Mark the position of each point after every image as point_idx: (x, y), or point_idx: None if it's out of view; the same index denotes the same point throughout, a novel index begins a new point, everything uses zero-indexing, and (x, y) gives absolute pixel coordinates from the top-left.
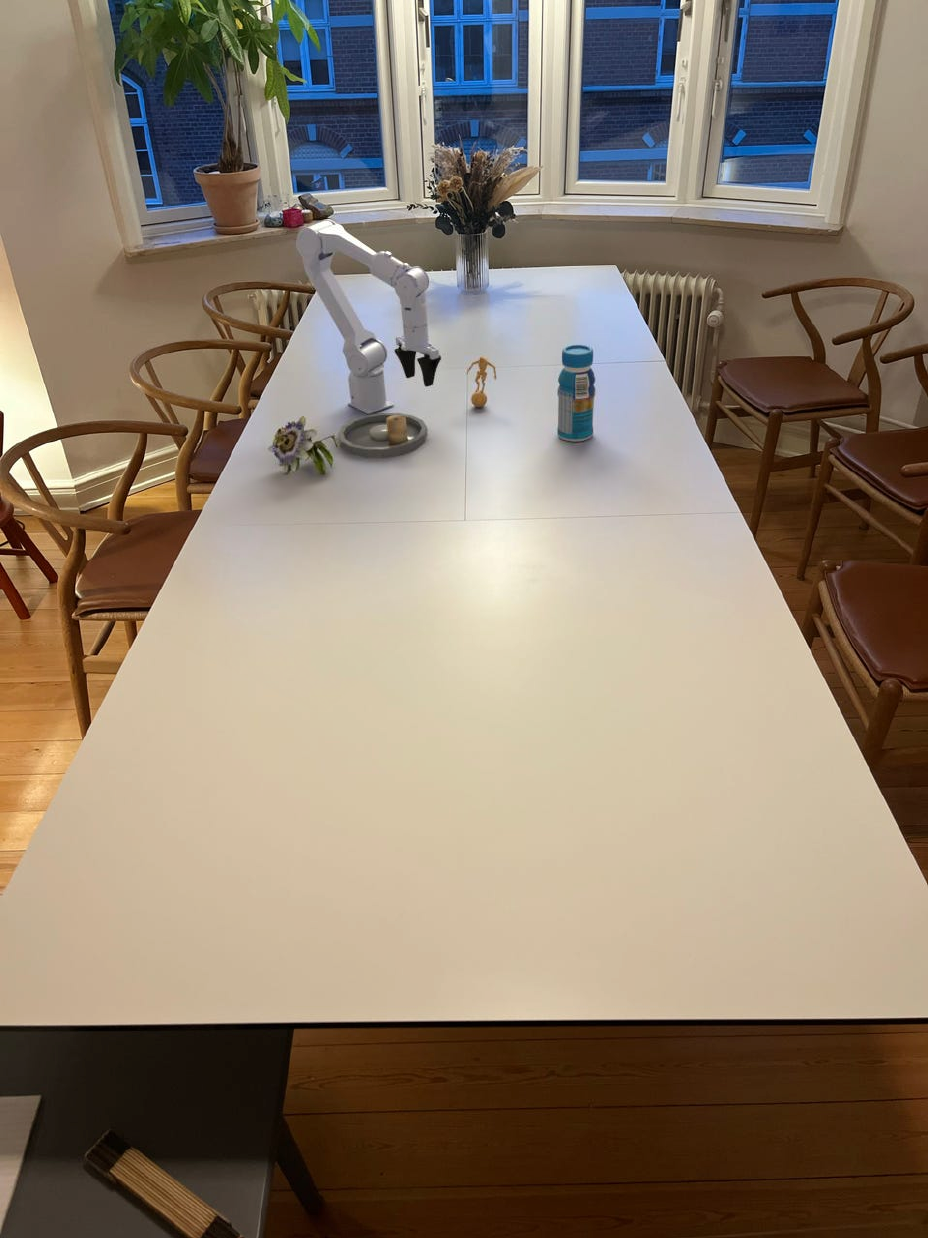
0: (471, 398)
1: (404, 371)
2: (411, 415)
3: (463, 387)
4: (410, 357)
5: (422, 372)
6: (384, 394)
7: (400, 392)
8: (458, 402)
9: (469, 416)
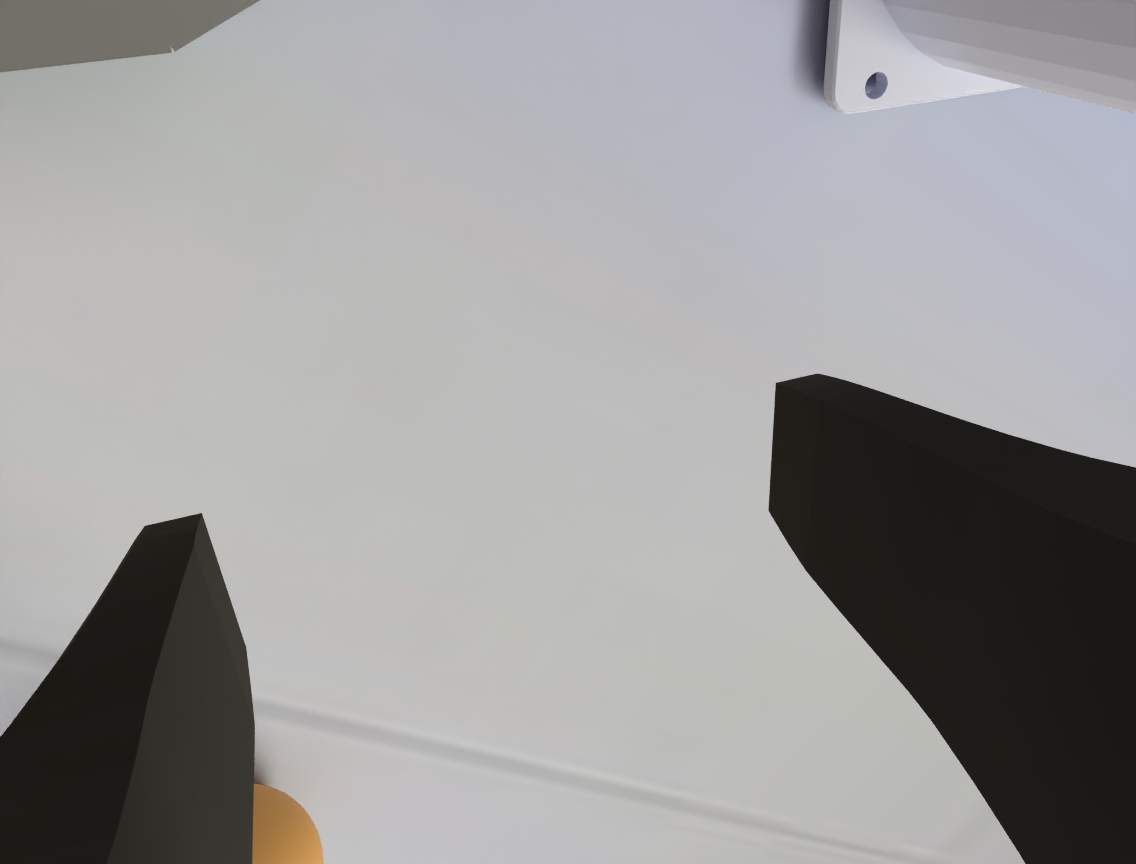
0: (255, 827)
1: (894, 405)
2: (183, 32)
3: (697, 784)
4: (1034, 731)
5: (114, 716)
6: (979, 22)
7: (1018, 331)
8: (449, 682)
9: (27, 678)
